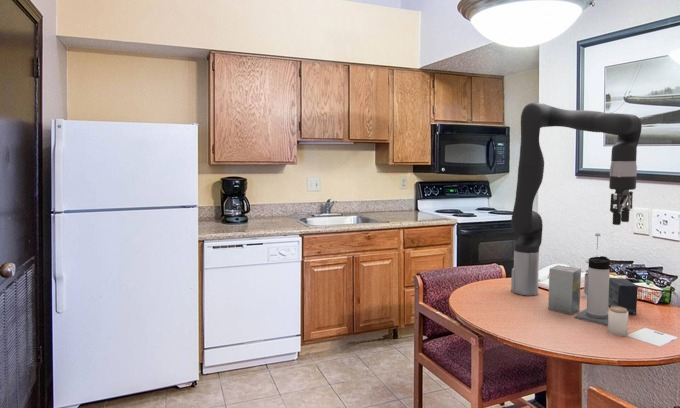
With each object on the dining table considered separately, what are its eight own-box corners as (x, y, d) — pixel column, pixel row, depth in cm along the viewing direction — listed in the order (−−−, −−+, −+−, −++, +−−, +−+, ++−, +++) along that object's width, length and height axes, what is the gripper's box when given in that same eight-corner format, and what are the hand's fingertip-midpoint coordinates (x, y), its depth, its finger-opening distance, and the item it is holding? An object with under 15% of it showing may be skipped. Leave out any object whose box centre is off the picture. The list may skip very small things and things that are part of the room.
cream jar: (605, 332, 138) (606, 308, 137) (610, 328, 141) (612, 304, 141) (624, 337, 134) (625, 312, 133) (629, 332, 138) (630, 308, 137)
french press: (576, 294, 176) (578, 232, 173) (591, 289, 182) (594, 229, 180) (601, 301, 168) (604, 236, 165) (617, 295, 174) (620, 232, 171)
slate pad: (574, 317, 151) (574, 315, 151) (586, 310, 157) (586, 308, 157) (607, 325, 143) (607, 323, 143) (617, 318, 150) (618, 315, 150)
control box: (547, 308, 160) (548, 268, 159) (555, 304, 165) (556, 264, 163) (572, 314, 154) (573, 272, 152) (580, 310, 158) (581, 269, 157)
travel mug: (611, 316, 150) (614, 257, 148) (602, 320, 146) (604, 260, 144) (592, 311, 155) (594, 254, 153) (582, 315, 151) (584, 257, 149)
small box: (637, 315, 152) (639, 285, 151) (616, 314, 154) (618, 285, 153) (624, 305, 163) (626, 277, 162) (605, 304, 164) (606, 277, 163)
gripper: (617, 174, 155) (615, 220, 156) (602, 175, 145) (600, 224, 147) (642, 174, 149) (640, 222, 151) (629, 176, 140) (626, 226, 141)
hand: (620, 223), depth 149 cm, fingers open, 8 cm apart
